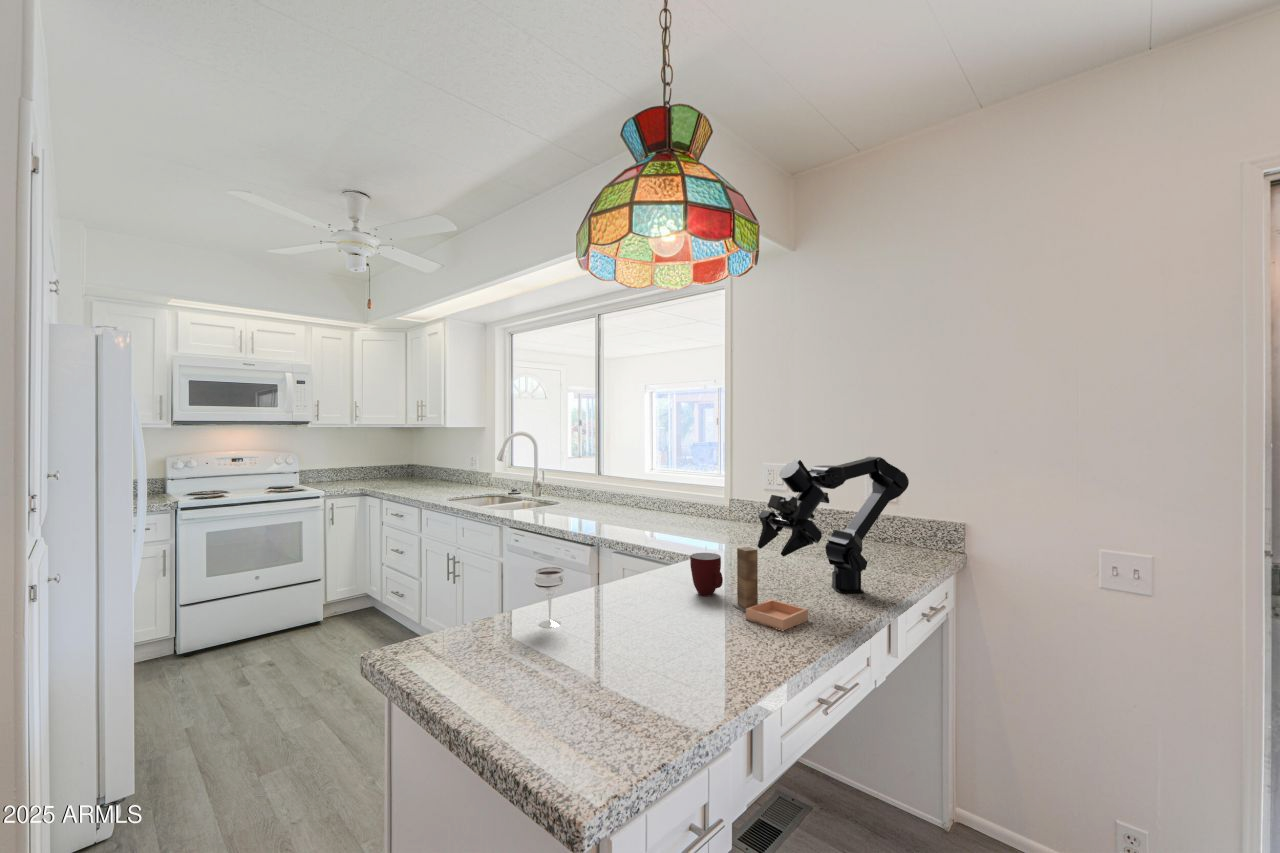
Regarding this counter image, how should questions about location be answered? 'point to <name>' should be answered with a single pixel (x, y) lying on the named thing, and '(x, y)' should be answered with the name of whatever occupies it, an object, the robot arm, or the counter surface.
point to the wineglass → (549, 588)
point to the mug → (706, 572)
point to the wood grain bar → (747, 578)
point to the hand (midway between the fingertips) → (770, 551)
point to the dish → (777, 614)
